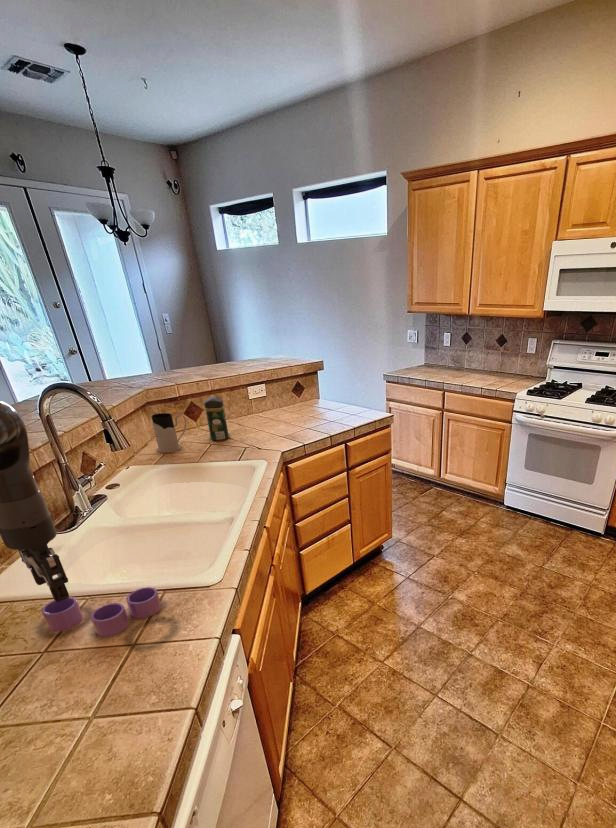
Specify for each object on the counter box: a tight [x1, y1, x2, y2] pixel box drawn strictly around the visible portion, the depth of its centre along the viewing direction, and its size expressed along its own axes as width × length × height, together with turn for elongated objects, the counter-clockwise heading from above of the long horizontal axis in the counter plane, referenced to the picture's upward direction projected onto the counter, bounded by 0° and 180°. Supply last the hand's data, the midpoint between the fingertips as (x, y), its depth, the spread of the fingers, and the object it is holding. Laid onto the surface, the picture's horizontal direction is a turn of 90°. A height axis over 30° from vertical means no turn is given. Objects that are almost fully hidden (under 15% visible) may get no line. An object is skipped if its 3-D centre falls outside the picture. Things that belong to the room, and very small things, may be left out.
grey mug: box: [150, 412, 187, 453], centre depth 182 cm, size 9×14×15 cm, turn 146°
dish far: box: [125, 586, 162, 619], centre depth 90 cm, size 6×6×4 cm
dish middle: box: [90, 602, 130, 637], centre depth 85 cm, size 6×6×4 cm
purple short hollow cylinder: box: [41, 596, 84, 632], centre depth 85 cm, size 6×6×4 cm
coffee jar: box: [203, 396, 230, 442], centre depth 196 cm, size 10×8×19 cm
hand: (53, 590), depth 83 cm, fingers open, 8 cm apart
